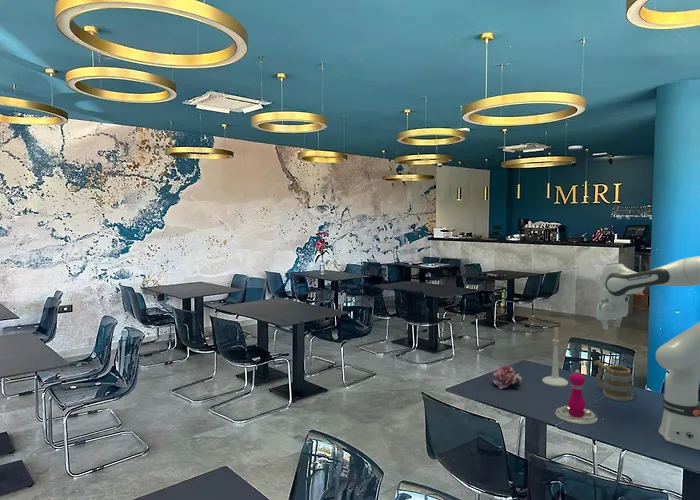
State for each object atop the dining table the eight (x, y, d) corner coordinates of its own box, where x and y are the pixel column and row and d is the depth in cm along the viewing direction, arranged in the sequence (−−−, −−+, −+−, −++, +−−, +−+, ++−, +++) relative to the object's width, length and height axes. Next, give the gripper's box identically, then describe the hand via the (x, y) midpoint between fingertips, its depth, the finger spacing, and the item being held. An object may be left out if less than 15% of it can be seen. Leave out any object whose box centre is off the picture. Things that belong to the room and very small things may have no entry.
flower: (497, 373, 266) (498, 358, 262) (524, 382, 257) (526, 366, 254) (487, 388, 255) (488, 372, 251) (515, 398, 246) (516, 382, 243)
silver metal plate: (605, 418, 212) (605, 414, 212) (582, 427, 203) (582, 423, 203) (570, 406, 227) (570, 402, 227) (547, 414, 218) (547, 409, 218)
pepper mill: (587, 418, 211) (588, 372, 210) (569, 417, 212) (570, 372, 211) (582, 411, 218) (583, 367, 217) (565, 410, 219) (566, 367, 218)
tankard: (638, 398, 235) (639, 368, 234) (619, 402, 231) (620, 371, 230) (603, 385, 254) (604, 357, 253) (585, 389, 249) (586, 360, 248)
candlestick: (572, 386, 254) (573, 329, 252) (547, 386, 254) (548, 329, 252) (561, 378, 266) (563, 324, 264) (538, 378, 266) (539, 324, 265)
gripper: (606, 301, 214) (605, 332, 215) (631, 297, 225) (630, 326, 226) (592, 299, 219) (591, 329, 220) (617, 295, 230) (616, 324, 231)
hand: (611, 328), depth 223 cm, fingers open, 8 cm apart
